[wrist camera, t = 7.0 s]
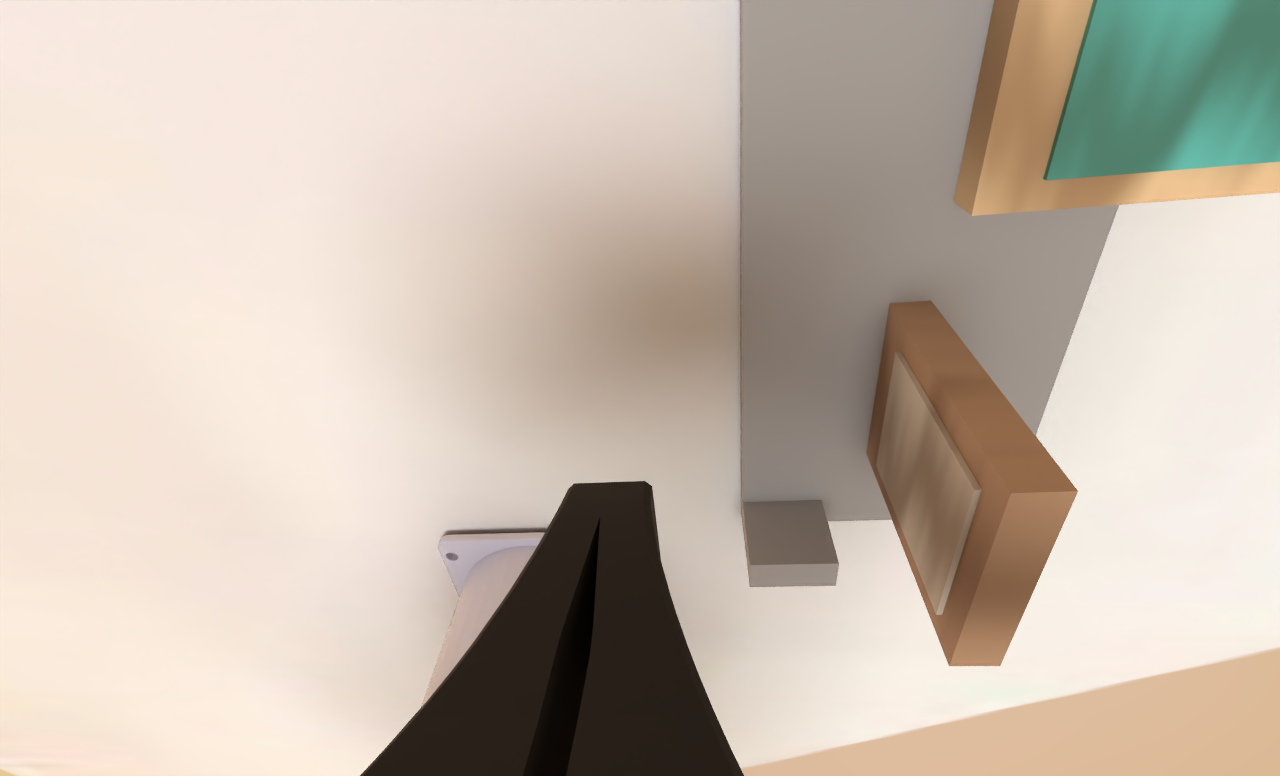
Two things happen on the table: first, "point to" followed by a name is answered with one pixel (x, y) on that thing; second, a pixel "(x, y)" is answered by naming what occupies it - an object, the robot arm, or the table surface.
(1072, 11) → the oak tile
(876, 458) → the walnut tile
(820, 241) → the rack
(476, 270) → the table surface
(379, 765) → the robot arm
